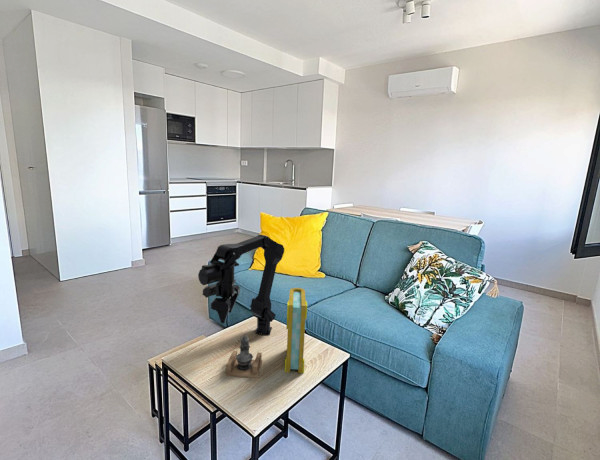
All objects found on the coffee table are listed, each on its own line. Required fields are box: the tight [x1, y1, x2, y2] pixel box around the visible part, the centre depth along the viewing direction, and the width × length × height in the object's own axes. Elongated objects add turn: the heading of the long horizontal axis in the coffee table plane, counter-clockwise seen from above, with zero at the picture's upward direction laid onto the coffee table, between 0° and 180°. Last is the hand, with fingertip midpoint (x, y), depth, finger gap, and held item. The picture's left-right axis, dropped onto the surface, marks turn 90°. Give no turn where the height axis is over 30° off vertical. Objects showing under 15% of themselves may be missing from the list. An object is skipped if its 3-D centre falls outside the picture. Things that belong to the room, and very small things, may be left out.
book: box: [284, 287, 308, 374], centre depth 121 cm, size 17×7×25 cm, turn 0°
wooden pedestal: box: [224, 350, 263, 379], centre depth 115 cm, size 9×11×4 cm
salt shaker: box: [236, 334, 254, 371], centre depth 114 cm, size 6×6×12 cm
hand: (226, 317), depth 126 cm, fingers open, 9 cm apart
